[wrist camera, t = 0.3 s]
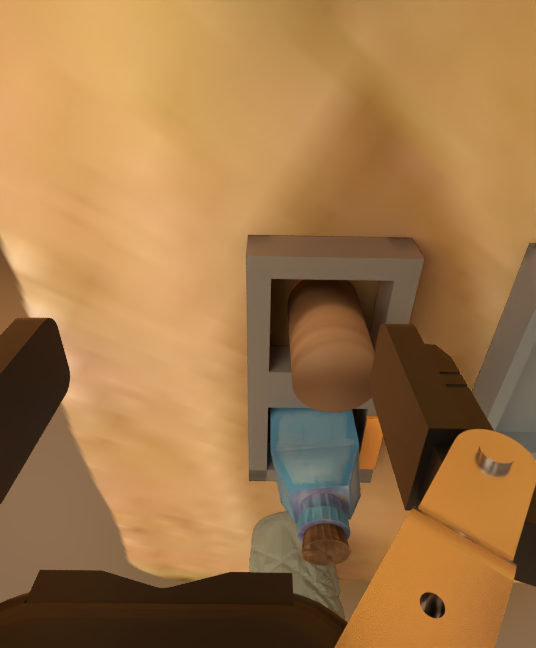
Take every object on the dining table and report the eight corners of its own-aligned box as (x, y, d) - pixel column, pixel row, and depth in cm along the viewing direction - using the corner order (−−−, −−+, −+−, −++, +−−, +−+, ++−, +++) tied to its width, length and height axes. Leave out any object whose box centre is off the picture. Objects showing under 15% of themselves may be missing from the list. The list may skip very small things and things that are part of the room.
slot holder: (248, 234, 28) (245, 258, 26) (411, 237, 29) (425, 261, 26) (250, 452, 41) (248, 483, 38) (364, 454, 41) (370, 485, 38)
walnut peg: (289, 273, 30) (294, 345, 24) (362, 274, 30) (388, 347, 24) (286, 332, 33) (289, 411, 26) (353, 333, 33) (373, 413, 26)
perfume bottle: (270, 390, 36) (270, 529, 27) (346, 382, 36) (375, 522, 26) (279, 440, 40) (282, 579, 30) (348, 434, 39) (375, 573, 30)
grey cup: (353, 523, 47) (375, 656, 38) (306, 565, 53) (314, 692, 43) (269, 497, 45) (269, 633, 35) (228, 544, 50) (218, 674, 40)
